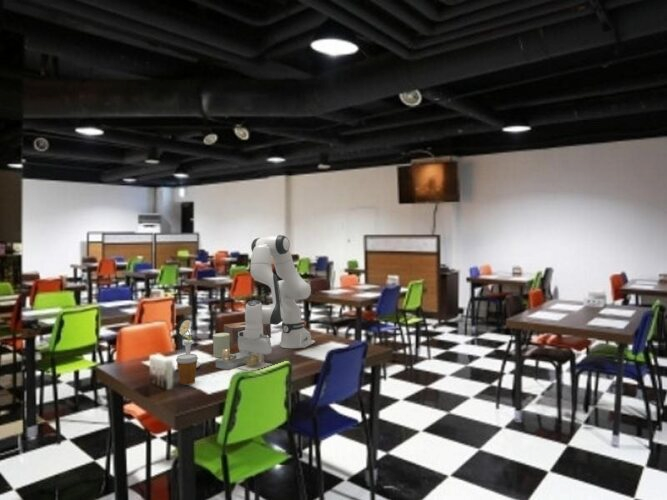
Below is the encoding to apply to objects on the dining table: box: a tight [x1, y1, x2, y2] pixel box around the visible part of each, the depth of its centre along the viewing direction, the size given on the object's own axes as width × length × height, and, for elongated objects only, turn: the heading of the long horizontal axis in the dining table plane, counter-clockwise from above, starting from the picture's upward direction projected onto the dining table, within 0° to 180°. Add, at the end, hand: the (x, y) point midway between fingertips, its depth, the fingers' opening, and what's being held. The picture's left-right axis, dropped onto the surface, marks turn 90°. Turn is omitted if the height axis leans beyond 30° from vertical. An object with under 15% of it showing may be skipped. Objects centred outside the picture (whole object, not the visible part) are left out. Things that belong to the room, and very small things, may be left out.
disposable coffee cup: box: [175, 353, 199, 386], centre depth 210 cm, size 10×10×12 cm
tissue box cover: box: [223, 321, 272, 345], centre depth 296 cm, size 26×14×10 cm, turn 123°
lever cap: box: [245, 354, 265, 366], centre depth 233 cm, size 8×5×4 cm, turn 145°
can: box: [212, 332, 231, 358], centre depth 257 cm, size 9×9×12 cm
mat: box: [237, 361, 273, 372], centre depth 233 cm, size 14×10×1 cm
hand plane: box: [215, 348, 259, 371], centre depth 240 cm, size 22×9×10 cm, turn 146°
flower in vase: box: [176, 319, 201, 369], centre depth 231 cm, size 13×11×25 cm
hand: (254, 360), depth 233 cm, fingers closed on lever cap, 5 cm apart
